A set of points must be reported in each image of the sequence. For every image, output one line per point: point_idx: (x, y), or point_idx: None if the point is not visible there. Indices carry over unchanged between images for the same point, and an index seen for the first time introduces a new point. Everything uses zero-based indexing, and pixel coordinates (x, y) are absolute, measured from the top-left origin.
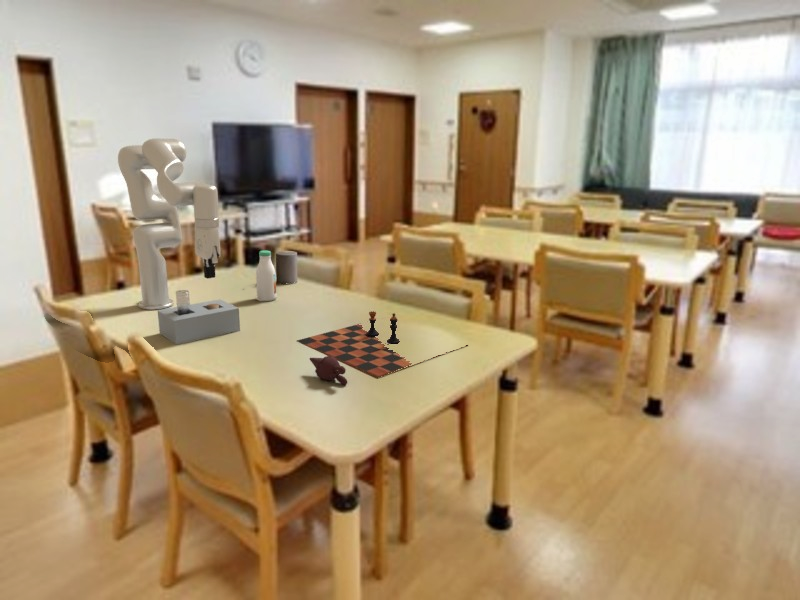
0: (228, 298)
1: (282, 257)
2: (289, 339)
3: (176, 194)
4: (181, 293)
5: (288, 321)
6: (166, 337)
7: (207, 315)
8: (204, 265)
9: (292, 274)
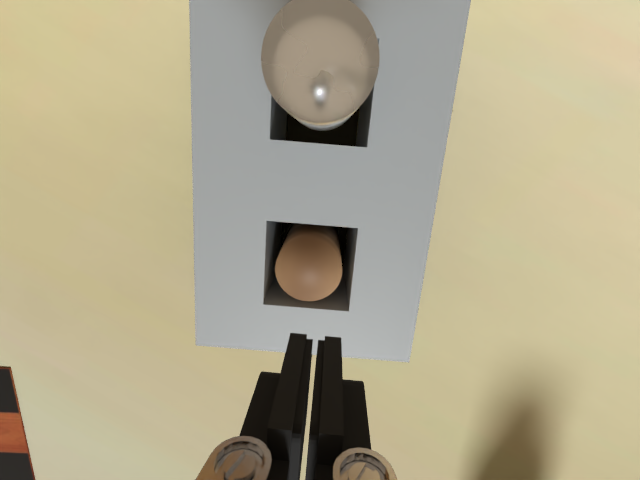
0: (622, 466)
1: None
2: (36, 360)
3: None
4: (269, 24)
5: None
6: None
7: (195, 172)
8: (341, 454)
9: None
